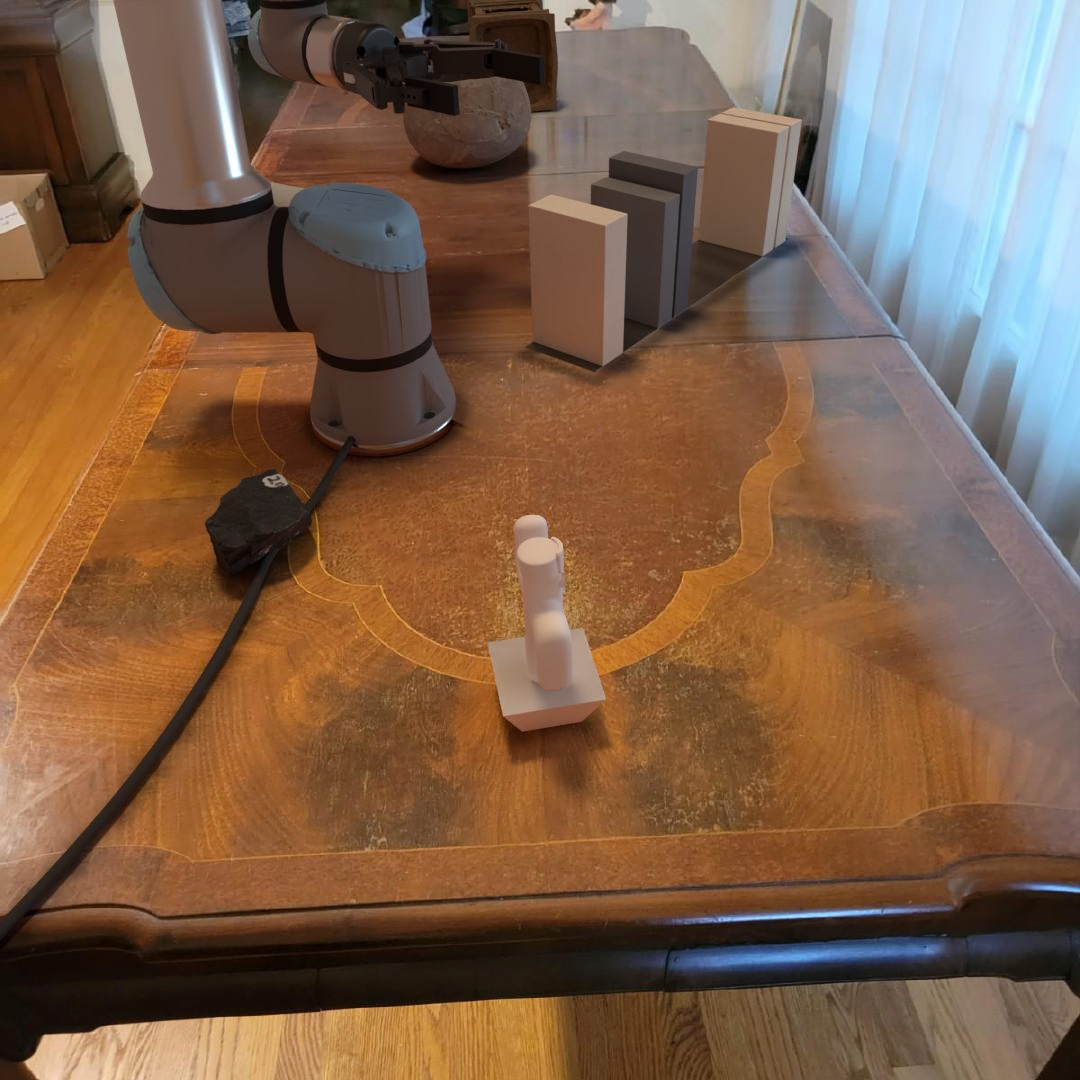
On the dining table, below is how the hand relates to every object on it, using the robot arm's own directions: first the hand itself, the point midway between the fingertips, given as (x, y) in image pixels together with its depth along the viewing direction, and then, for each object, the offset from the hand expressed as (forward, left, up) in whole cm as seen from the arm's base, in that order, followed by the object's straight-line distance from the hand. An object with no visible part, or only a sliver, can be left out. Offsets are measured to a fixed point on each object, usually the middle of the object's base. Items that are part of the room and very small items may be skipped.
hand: (501, 85), depth 100 cm
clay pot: (+63, +1, -28) cm, 69 cm away
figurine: (-59, +3, -28) cm, 65 cm away
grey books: (+2, -16, -27) cm, 31 cm away
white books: (+20, -34, -27) cm, 48 cm away
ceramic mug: (+36, +28, -28) cm, 54 cm away
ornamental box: (+108, -10, -28) cm, 112 cm away
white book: (-7, -7, -27) cm, 29 cm away
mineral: (-37, +25, -28) cm, 53 cm away
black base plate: (+7, -21, -28) cm, 35 cm away
